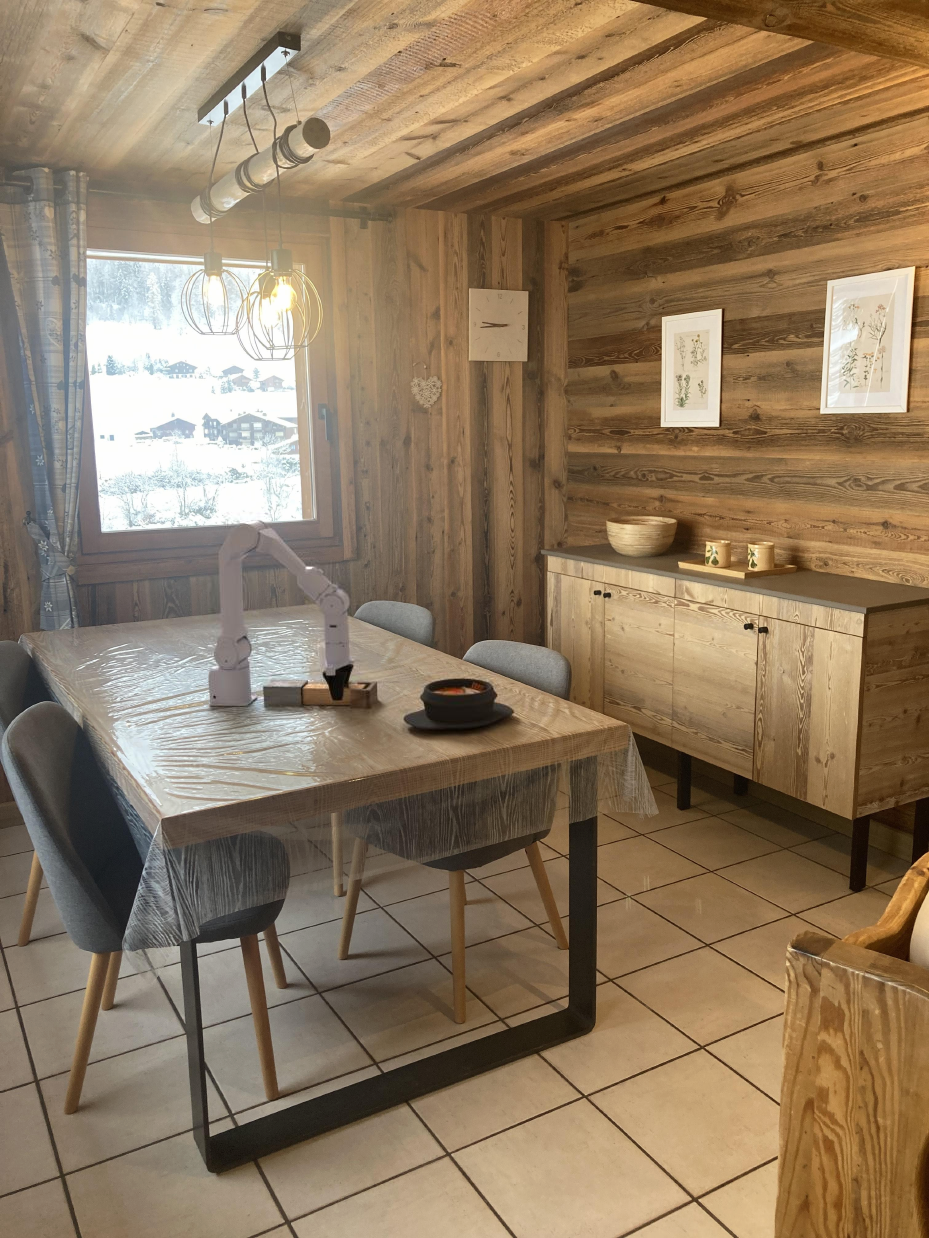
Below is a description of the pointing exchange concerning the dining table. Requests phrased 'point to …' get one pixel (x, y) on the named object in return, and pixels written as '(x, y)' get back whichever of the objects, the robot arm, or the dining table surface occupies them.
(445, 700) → the casserole
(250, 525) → the robot arm
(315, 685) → the tan wooden bar
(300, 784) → the dining table surface
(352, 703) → the socket
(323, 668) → the white cup
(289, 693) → the sleeve
